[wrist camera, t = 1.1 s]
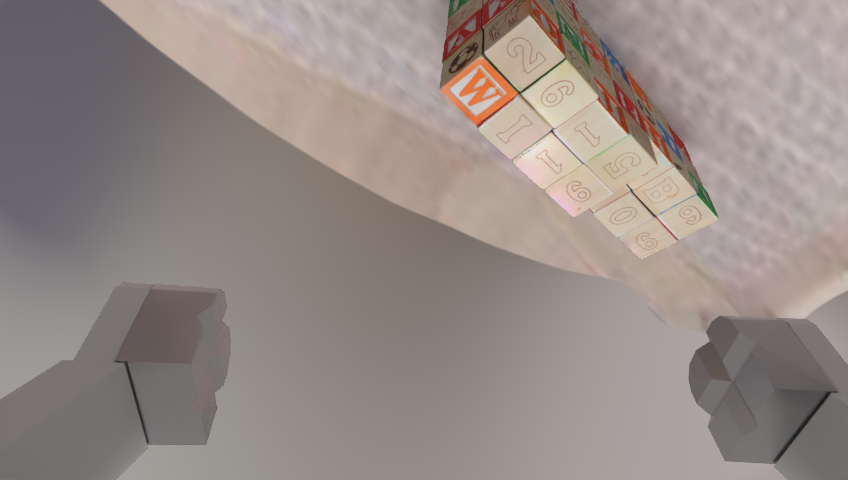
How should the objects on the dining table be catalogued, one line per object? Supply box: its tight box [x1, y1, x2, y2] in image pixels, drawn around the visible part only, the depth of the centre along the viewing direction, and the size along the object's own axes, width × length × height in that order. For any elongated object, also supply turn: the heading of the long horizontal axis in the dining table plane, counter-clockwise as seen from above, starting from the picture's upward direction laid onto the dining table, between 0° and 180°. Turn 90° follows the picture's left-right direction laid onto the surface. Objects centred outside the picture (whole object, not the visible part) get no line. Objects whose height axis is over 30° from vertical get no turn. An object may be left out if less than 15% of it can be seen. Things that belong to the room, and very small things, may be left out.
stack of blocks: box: [440, 0, 718, 259], centre depth 40 cm, size 21×6×12 cm, turn 44°
